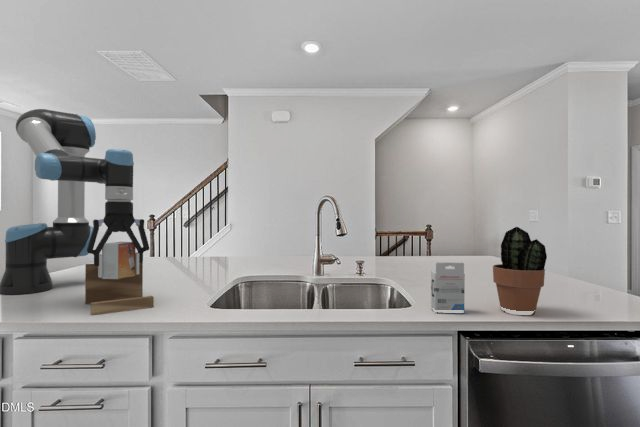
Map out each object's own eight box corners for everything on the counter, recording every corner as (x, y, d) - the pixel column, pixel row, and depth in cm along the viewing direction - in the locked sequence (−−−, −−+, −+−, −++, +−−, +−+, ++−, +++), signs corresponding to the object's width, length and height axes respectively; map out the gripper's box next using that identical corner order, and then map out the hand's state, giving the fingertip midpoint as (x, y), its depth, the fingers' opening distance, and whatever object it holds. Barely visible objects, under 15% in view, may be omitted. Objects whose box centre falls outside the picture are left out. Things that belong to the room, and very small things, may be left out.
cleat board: (85, 303, 120) (85, 264, 120) (141, 296, 129) (141, 260, 129) (91, 315, 106) (91, 271, 106) (153, 307, 116) (153, 266, 116)
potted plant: (494, 315, 110) (495, 227, 110) (490, 304, 123) (491, 225, 123) (549, 320, 106) (550, 228, 105) (539, 308, 118) (540, 226, 118)
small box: (117, 279, 113) (117, 243, 113) (101, 279, 115) (101, 243, 114) (136, 275, 121) (136, 241, 121) (120, 274, 122) (120, 241, 122)
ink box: (458, 309, 117) (459, 260, 116) (464, 314, 112) (465, 262, 111) (430, 309, 117) (430, 260, 116) (434, 313, 112) (435, 262, 112)
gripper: (77, 200, 108) (77, 280, 108) (160, 201, 121) (160, 273, 121) (75, 200, 114) (75, 277, 115) (154, 202, 127) (154, 270, 127)
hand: (119, 275), depth 118 cm, fingers closed on small box, 9 cm apart
